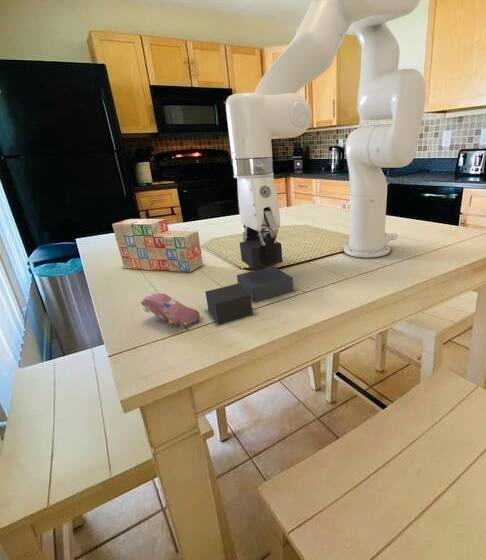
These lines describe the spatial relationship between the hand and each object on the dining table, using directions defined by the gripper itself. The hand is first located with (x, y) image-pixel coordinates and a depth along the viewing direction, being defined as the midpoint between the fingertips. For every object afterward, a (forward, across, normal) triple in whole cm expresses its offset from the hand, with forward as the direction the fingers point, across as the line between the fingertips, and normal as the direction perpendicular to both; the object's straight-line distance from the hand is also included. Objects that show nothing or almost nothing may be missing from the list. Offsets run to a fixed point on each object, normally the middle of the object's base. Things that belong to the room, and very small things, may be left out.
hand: (261, 258), depth 70 cm
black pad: (+7, -6, +10) cm, 13 cm away
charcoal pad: (+1, 0, 0) cm, 1 cm away
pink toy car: (+7, -3, +20) cm, 21 cm away
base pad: (+7, 0, 0) cm, 7 cm away
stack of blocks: (+7, +31, +16) cm, 35 cm away
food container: (+7, +15, -7) cm, 18 cm away
